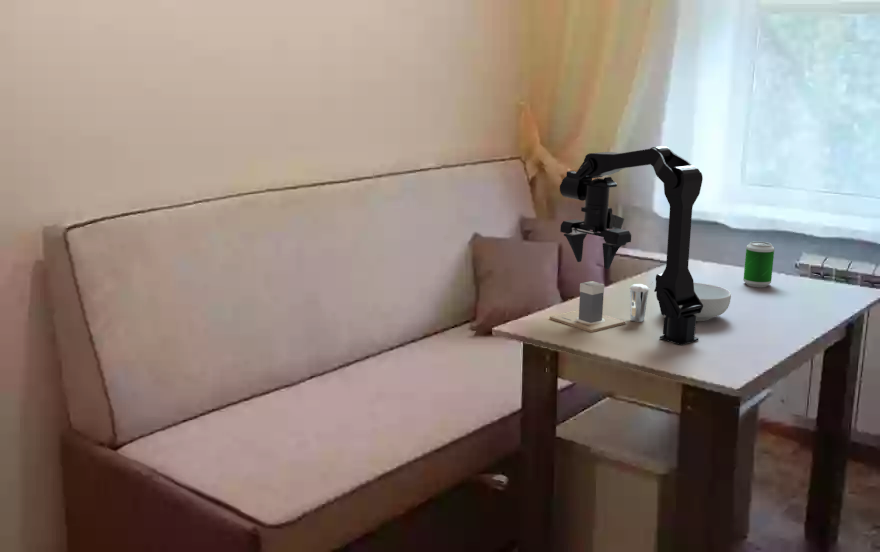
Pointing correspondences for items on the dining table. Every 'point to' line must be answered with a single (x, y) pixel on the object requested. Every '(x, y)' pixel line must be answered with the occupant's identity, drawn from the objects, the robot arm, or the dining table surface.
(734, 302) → the dining table surface
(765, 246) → the soda can
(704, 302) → the cereal bowl
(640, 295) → the milkshake
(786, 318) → the dining table surface
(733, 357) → the dining table surface
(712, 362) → the dining table surface
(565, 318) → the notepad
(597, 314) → the grey and white block
